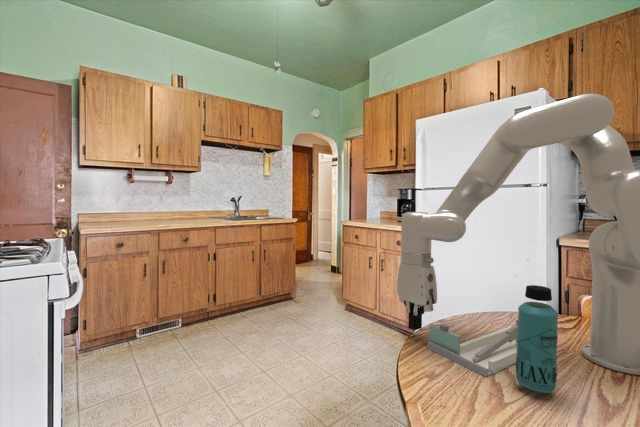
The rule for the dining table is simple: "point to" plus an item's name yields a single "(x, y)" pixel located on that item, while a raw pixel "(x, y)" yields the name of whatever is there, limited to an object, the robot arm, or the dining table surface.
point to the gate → (444, 338)
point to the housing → (468, 349)
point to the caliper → (498, 343)
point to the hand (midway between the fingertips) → (415, 328)
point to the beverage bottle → (537, 342)
